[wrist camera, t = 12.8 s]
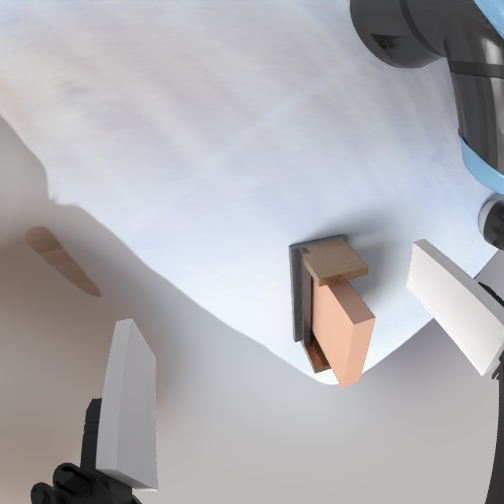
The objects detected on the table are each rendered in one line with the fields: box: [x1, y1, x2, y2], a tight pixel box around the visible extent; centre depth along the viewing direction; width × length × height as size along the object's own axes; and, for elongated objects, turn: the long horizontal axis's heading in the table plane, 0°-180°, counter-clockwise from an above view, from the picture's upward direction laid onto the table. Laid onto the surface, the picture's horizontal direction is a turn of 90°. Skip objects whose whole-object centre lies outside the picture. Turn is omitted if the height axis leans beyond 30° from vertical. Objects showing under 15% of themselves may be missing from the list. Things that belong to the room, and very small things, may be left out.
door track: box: [289, 234, 368, 373], centre depth 44 cm, size 9×20×9 cm, turn 7°
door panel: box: [311, 275, 376, 387], centre depth 41 cm, size 3×14×14 cm, turn 7°
